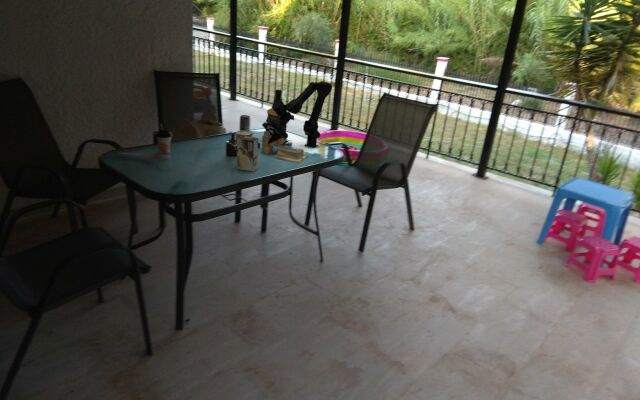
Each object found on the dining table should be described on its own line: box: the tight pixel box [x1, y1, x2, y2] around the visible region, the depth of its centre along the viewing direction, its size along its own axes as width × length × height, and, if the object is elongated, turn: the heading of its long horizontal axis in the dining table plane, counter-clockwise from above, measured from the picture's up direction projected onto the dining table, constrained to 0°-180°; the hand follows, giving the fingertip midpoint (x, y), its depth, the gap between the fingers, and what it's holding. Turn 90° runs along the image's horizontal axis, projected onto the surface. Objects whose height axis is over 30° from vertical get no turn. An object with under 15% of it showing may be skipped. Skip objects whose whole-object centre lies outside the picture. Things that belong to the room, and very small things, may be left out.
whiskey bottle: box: [266, 89, 288, 147], centre depth 270 cm, size 10×10×32 cm
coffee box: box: [236, 136, 259, 173], centre depth 226 cm, size 9×6×16 cm
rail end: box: [261, 130, 274, 155], centre depth 254 cm, size 5×4×12 cm
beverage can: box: [235, 130, 253, 145], centre depth 249 cm, size 9×9×12 cm
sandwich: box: [272, 145, 309, 164], centre depth 251 cm, size 13×15×5 cm
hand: (265, 142), depth 253 cm, fingers closed on rail end, 4 cm apart
